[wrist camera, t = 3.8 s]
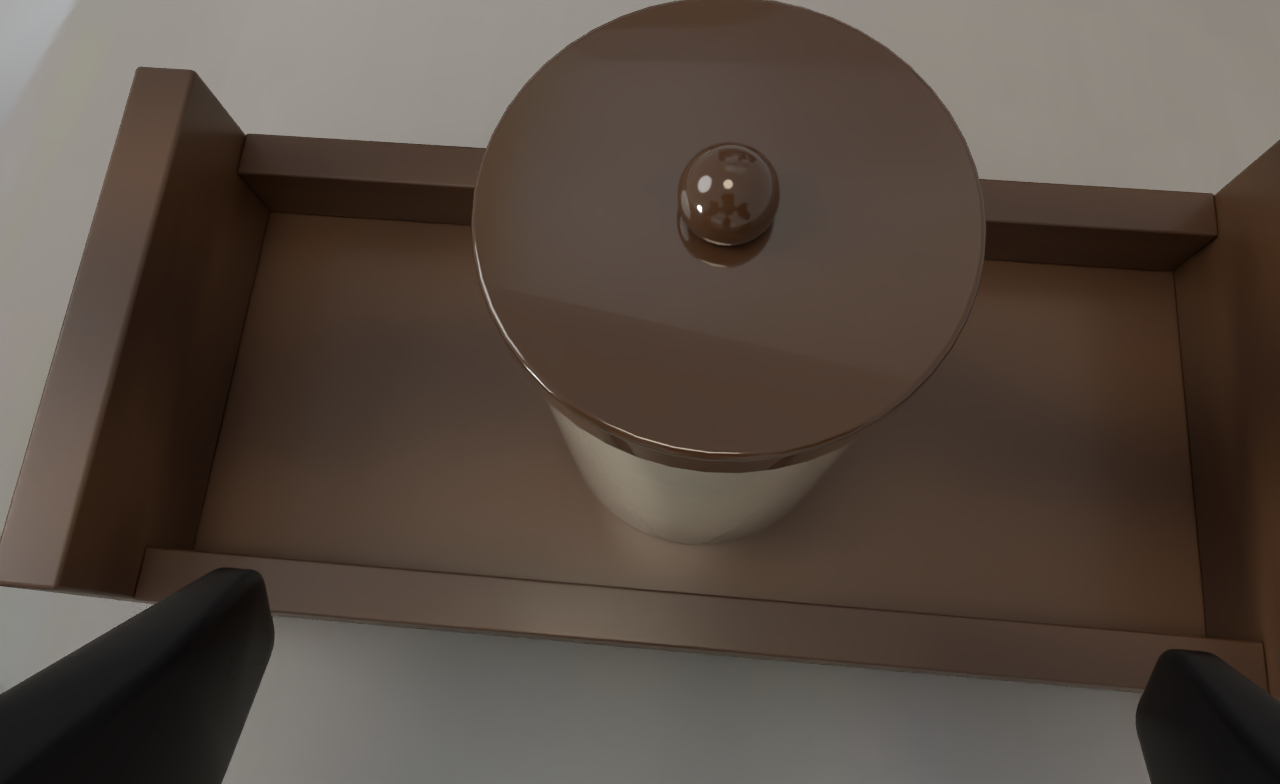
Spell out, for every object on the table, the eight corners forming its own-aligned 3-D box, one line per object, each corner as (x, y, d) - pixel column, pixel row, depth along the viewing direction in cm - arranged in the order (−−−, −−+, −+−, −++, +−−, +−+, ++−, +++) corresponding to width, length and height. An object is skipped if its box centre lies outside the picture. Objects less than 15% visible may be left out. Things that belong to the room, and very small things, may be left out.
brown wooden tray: (1201, 698, 20) (1447, 713, 14) (186, 607, 21) (-16, 584, 15) (1163, 280, 23) (1352, 136, 16) (273, 221, 24) (135, 65, 18)
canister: (902, 401, 19) (1132, 148, 10) (710, 619, 18) (762, 570, 9) (688, 226, 21) (709, -144, 11) (495, 418, 19) (337, 185, 10)
